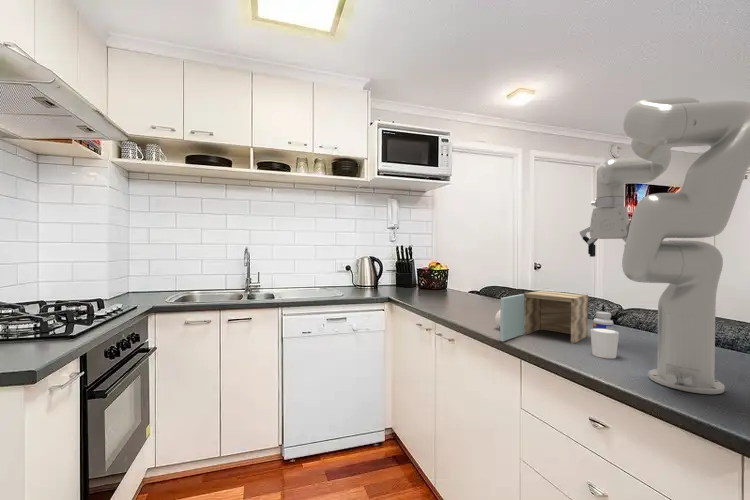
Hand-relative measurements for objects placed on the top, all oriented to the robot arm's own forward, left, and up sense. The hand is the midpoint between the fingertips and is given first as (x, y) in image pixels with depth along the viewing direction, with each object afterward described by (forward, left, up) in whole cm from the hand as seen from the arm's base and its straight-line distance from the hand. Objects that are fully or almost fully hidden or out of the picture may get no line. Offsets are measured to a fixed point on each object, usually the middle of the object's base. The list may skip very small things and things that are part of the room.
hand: (609, 256), depth 113 cm
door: (-20, +23, -27) cm, 41 cm away
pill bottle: (-3, +1, -28) cm, 28 cm away
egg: (-9, +31, -28) cm, 42 cm away
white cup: (-18, -3, -28) cm, 33 cm away
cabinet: (-4, +15, -27) cm, 31 cm away
